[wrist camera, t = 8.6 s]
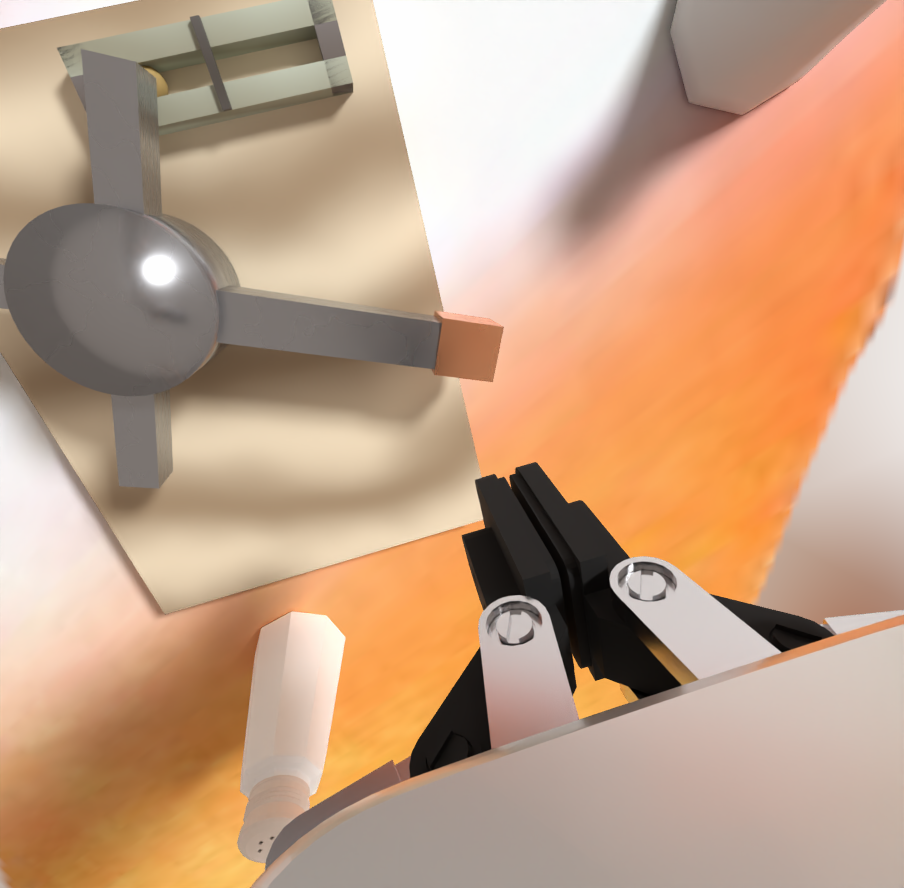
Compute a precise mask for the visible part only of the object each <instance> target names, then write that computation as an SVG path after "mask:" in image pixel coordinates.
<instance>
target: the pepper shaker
mask: <svg viewBox="0 0 904 888" xmlns="http://www.w3.org/2000/svg"><path fill="white" fill-rule="evenodd" d="M344 643H345V636H344V635H343V634H342V633H341V632H340V631H339V629H338V628H337V627H336V626H335V625H334V624H333V622H332V621H331V620H330V619H329V618H328V617H327V616H326V615H320V614H312V613H303V612H295V611H291V612H290V613H288V614H286V615H284V616H282V617H280V618H279V619H277V620H275V621H273V622H271V623H269V624H268V625H266V626H264V627H262V628H261V630H260V635H259V639H258V643H257V648H256V652H255V658H254V667H253V676H252V684H251V693H250V702H249V711H248V719H247V728H246V737H245V746H244V754H243V763H242V772H241V786H240V792H241V793H243V794H244V795H245V796H247V797H248V798H249V799H248V800H249V802H248V804H247V806H246V811H245V815H244V819H243V820H244V824H243V826H242V828H241V831H240V834H239V838H238V842H237V844H238V848H239V850H240V852H241V853H242V855H243V856H244V857H246V858H247V859H249V860H252V861H255V862H260V863H266V859H267V856H268V854H269V851H270V849H271V846H272V844H273V842H274V840H275V839H276V837H277V836H278V835H279V833H280V832H281V831H282V829H283V828H284V827H285V826H286V825H287V824H288V823H290V822H291V821H292V820H293V819H295V818H296V817H297V816H299V815H300V814H302V813H304V812H305V811H307V810H309V806H310V802H309V796H311V795H313V794H315V793H316V791H317V788H318V785H319V782H320V779H321V776H322V772H323V767H324V763H325V758H326V753H327V747H328V740H329V734H330V728H331V722H332V716H333V710H334V704H335V698H336V692H337V686H338V680H339V674H340V668H341V662H342V656H343V649H344Z"/></svg>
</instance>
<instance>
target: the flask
mask: <svg viewBox="0 0 904 888" xmlns="http://www.w3.org/2000/svg"><path fill="white" fill-rule="evenodd" d="M885 1H886V0H677V4H676V8H675V13H674V17H673V21H672V25H671V30H670V33H671V37H672V41H673V45H674V49H675V52H676V56H677V60H678V64H679V68H680V71H681V75H682V79H683V83H684V87H685V90H686V94H687V98H688V102H689V103H692V104H697V105H701V106H705V107H709V108H714V109H718V110H722V111H727V112H731V113H735V114H739V115H744V114H745V113H747V112H749V111H750V110H752V109H753V108H755V107H757V106H758V105H760V104H762V103H763V102H765V101H767V100H768V99H770V98H771V97H773V96H775V95H776V94H778V93H780V92H781V91H783V90H785V89H786V88H788V87H789V86H791V85H793V84H794V83H796V82H798V81H799V80H800V79H801V78H802V77H803V76H804V75H805V74H807V73H808V72H809V71H810V70H811V69H812V68H813V67H814V66H815V65H816V64H817V63H818V62H819V61H821V60H822V59H823V58H824V57H825V56H826V55H827V54H828V53H829V52H830V51H831V50H832V49H833V48H834V47H835V46H836V45H837V44H838V43H839V42H840V41H842V40H843V39H844V38H845V37H846V36H847V35H848V34H849V33H850V32H851V31H852V30H853V29H855V28H856V27H857V26H858V25H859V24H860V23H861V22H863V21H864V20H865V19H866V18H867V17H868V16H869V15H870V14H872V13H873V12H874V11H875V10H876V9H877V8H878V7H880V6H881V5H882V4H883V3H884V2H885Z"/></svg>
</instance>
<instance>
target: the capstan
mask: <svg viewBox="0 0 904 888" xmlns="http://www.w3.org/2000/svg"><path fill="white" fill-rule="evenodd" d="M81 56H82V67H83V79H84V90H85V102H86V113H87V125H88V136H89V148H90V159H91V171H92V182H93V193H94V204H93V203H78V204H71V205H64V206H60V207H57V208H54V209H51V210H49V211H47V212H45V213H43V214H41V215H39V216H37V217H36V218H34V219H33V220H32V221H30V222H29V223H28V224H27V225H26V226H25V227H24V228H23V229H22V230H21V231H20V232H19V233H18V235H17V236H16V238H15V239H14V241H13V242H12V244H11V247H10V249H9V251H8V254H7V257H6V259H5V258H0V308H2V309H9V311H10V313H11V316H12V319H13V321H14V323H15V324H16V326H17V328H18V330H19V332H20V333H21V335H22V336H23V338H24V339H25V341H26V342H27V343H28V344H29V346H30V347H31V348H32V349H33V350H34V352H35V353H36V354H37V355H38V356H39V357H40V358H41V359H43V360H44V361H45V362H46V363H47V364H48V365H49V366H51V367H52V368H53V369H55V370H56V371H57V372H59V373H60V374H62V375H63V376H65V377H67V378H68V379H70V380H72V381H74V382H76V383H78V384H80V385H82V386H85V387H87V388H90V389H93V390H95V391H99V392H103V393H107V394H111V400H112V411H113V423H114V434H115V446H116V457H117V469H118V480H119V486H124V487H141V488H158V489H159V488H160V487H161V486H162V484H163V483H164V482H165V481H166V479H167V478H168V477H169V476H170V474H171V473H172V472H173V456H172V433H171V409H170V389H171V388H173V387H175V386H177V385H179V384H180V383H182V382H183V381H185V380H186V379H188V378H189V377H190V376H191V375H193V374H194V373H195V372H196V371H198V370H199V369H200V368H201V367H203V366H204V365H205V364H206V363H208V362H209V361H210V360H211V359H213V358H214V357H215V356H216V355H218V354H219V353H220V352H221V351H222V350H223V349H224V348H225V347H227V345H228V344H233V345H241V346H249V347H257V348H265V349H274V350H282V351H290V352H298V353H306V354H314V355H322V356H330V357H338V358H346V359H355V360H363V361H371V362H379V363H387V364H395V365H403V366H411V367H419V368H427V369H431V370H432V372H433V374H434V375H438V376H447V377H455V378H463V379H472V380H480V381H488V382H493V378H494V373H495V368H496V363H497V358H498V353H499V348H500V343H501V338H502V333H503V328H504V327H503V326H501V325H499V324H498V323H496V322H494V321H492V320H491V319H487V318H481V317H474V316H467V315H461V314H454V313H448V312H441V311H435V312H434V316H433V315H426V314H419V313H413V312H406V311H399V310H392V309H386V308H379V307H372V306H365V305H359V304H352V303H345V302H339V301H332V300H325V299H318V298H312V297H305V296H298V295H292V294H285V293H278V292H271V291H265V290H258V289H251V288H245V287H241V286H240V282H239V279H238V276H237V274H236V272H235V269H234V267H233V265H232V264H231V262H230V260H229V259H228V257H227V256H226V254H225V253H224V252H223V250H222V249H221V248H220V247H219V246H218V245H217V244H216V243H215V242H214V241H213V239H211V238H210V237H209V236H208V235H207V234H205V233H204V232H203V231H201V230H200V229H198V228H197V227H195V226H194V225H192V224H190V223H188V222H186V221H184V220H182V219H179V218H177V217H174V216H171V215H167V214H163V213H162V199H161V175H160V152H159V128H158V105H157V82H156V78H155V77H154V76H153V75H152V74H150V73H149V72H148V71H147V70H145V69H144V68H143V67H142V66H141V65H139V64H138V63H137V62H135V61H131V60H127V59H123V58H118V57H114V56H110V55H106V54H101V53H97V52H93V51H89V50H84V49H81Z"/></svg>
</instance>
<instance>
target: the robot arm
mask: <svg viewBox="0 0 904 888" xmlns="http://www.w3.org/2000/svg"><path fill="white" fill-rule="evenodd" d="M515 472H516V474H512V475H510V483H511V487H510V486H509V484H508V482H507V481H506V479H505V478H504V477H502V478H499V479H498V478H497V476H496V475H495V474H493V475H489V476H486V477H482V478H479V479H476V480H475V485H476V490H477V494H478V498H479V503H480V507H481V511H482V516H483V520H484V524H485V528H484V529H481V530H478V531H474V532H471V533H468V534H464V535H462V539H463V543H464V547H465V551H466V555H467V559H468V562H469V566H470V570H471V573H472V576H473V580H474V583H475V586H476V589H477V592H478V595H479V598H480V601H481V604H482V607H483V610H484V611H483V613H482V615H481V617H480V619H479V627H478V630H479V640H480V648H479V649H478V651H477V652H476V654H475V655H474V657H473V658H472V660H471V661H470V663H469V664H468V666H467V667H466V669H465V670H464V672H463V673H462V675H461V676H460V678H459V679H458V681H457V682H456V684H455V685H454V687H453V688H452V690H451V691H450V693H449V694H448V696H447V697H446V699H445V700H444V702H443V703H442V705H441V706H440V708H439V709H438V711H437V712H436V714H435V715H434V717H433V718H432V720H431V721H430V723H429V724H428V726H427V727H426V729H425V730H424V732H423V733H422V735H421V736H420V738H419V739H418V741H417V743H416V745H415V747H414V749H413V751H412V754H411V756H410V757H408V758H406V759H405V760H403V761H401V762H400V763H398V764H396V765H394V762H393V760H391V761H390V762H388V763H386V764H385V765H383V766H381V767H380V768H378V769H376V770H375V771H373V772H371V773H369V774H368V775H366V776H364V777H363V778H361V779H359V780H358V781H356V782H354V783H353V784H351V785H349V786H348V787H346V788H344V789H343V790H341V791H339V792H337V793H336V794H334V795H332V796H331V797H329V798H327V799H326V800H324V801H322V802H321V803H319V804H317V805H316V806H314V807H312V808H311V809H309V810H307V811H305V812H304V813H302V814H300V815H299V816H297V817H296V818H295V819H293V820H292V821H291V822H290V823H288V824H287V825H286V826H285V827H284V828H283V829H282V831H281V832H280V833H279V835H278V836H277V837H276V839H275V840H274V842H273V844H272V846H271V849H270V851H269V854H268V856H267V859H266V866H265V871H264V872H263V873H262V874H261V875H260V877H259V878H258V879H257V880H256V881H255V882H254V883H253V885H252V886H251V887H250V888H904V610H898V611H889V612H880V613H869V614H861V615H850V616H841V617H831V618H824V621H823V624H822V625H819V624H817V623H815V622H814V621H811V620H808V619H805V618H802V617H799V616H796V615H792V614H788V613H784V612H780V611H776V610H772V609H768V608H764V607H760V606H756V605H752V604H748V603H744V602H740V601H736V600H732V599H728V598H724V597H720V596H716V595H711V594H709V593H707V592H706V591H705V590H704V589H702V588H701V587H700V586H699V585H697V584H696V583H695V582H694V581H692V580H691V579H690V578H689V577H688V576H686V575H685V574H684V573H683V572H681V571H680V570H679V569H678V568H676V567H675V566H673V565H672V564H670V563H668V562H667V561H664V560H661V559H658V558H653V557H645V556H644V557H633V558H629V556H628V555H627V554H626V553H625V551H624V550H623V549H622V548H621V547H620V545H619V544H618V543H617V542H616V541H615V539H614V538H613V537H612V536H611V534H610V533H609V532H608V531H607V530H606V528H605V527H604V526H603V525H602V524H601V522H600V521H599V520H598V519H597V517H596V516H595V515H594V514H593V513H592V511H591V510H590V509H589V508H588V506H587V505H586V504H585V503H584V502H583V501H581V500H578V501H575V502H572V503H567V502H566V500H565V499H564V498H563V496H562V495H561V494H560V492H559V491H558V490H557V488H556V487H555V486H554V484H553V483H552V482H551V481H550V479H549V478H548V477H547V475H546V474H545V473H544V471H543V470H542V469H541V467H540V466H539V465H538V464H537V463H536V462H534V463H531V464H527V465H524V466H520V467H517V468H516V469H515ZM572 654H573V656H574V658H575V660H576V662H577V664H578V666H579V667H580V668H581V669H582V668H585V667H588V668H589V670H590V672H591V674H592V676H593V677H594V679H595V681H597V680H600V679H603V678H607V679H609V680H612V681H615V682H617V683H619V684H620V689H621V691H622V693H623V695H624V696H625V698H626V699H627V701H628V702H629V703H628V704H625V705H622V706H619V707H616V708H613V709H610V710H607V711H604V712H601V713H598V714H595V715H592V716H589V717H586V718H583V719H580V720H579V717H578V714H577V710H576V707H575V703H574V700H573V694H574V692H575V689H576V687H577V686H576V680H575V673H574V664H573V657H572Z"/></svg>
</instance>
